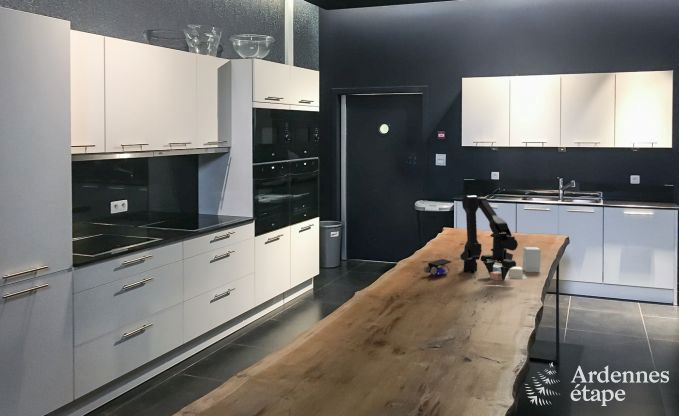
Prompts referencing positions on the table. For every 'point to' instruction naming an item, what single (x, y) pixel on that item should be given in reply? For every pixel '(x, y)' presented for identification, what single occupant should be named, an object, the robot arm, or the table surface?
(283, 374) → the table surface
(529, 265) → the supplement box
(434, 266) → the figurine character
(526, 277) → the baseplate
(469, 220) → the robot arm
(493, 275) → the terracotta brick
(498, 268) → the blue brick
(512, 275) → the base brick
